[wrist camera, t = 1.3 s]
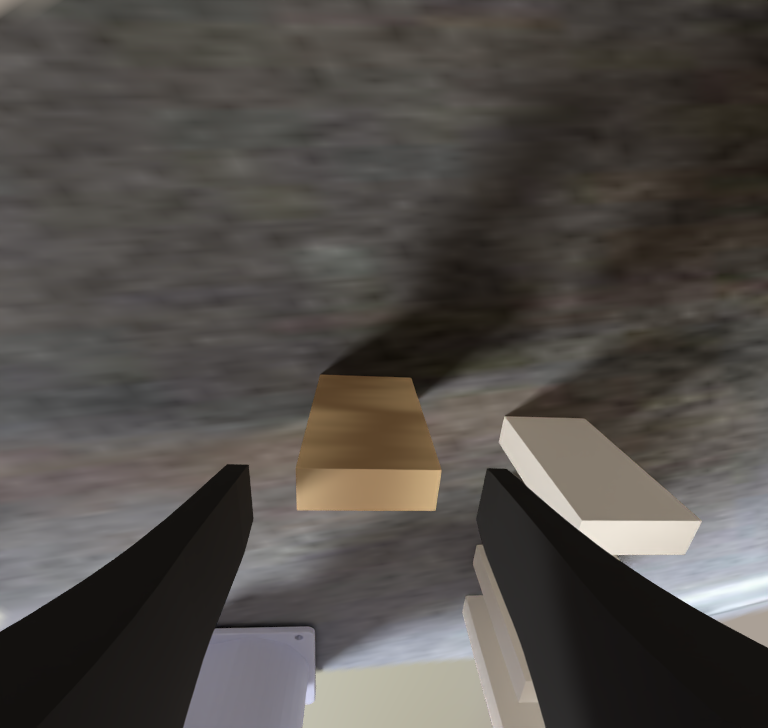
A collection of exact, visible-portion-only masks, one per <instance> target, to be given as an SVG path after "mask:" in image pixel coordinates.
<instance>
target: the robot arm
mask: <svg viewBox="0 0 768 728" xmlns="http://www.w3.org/2000/svg"><path fill="white" fill-rule="evenodd" d="M476 520H477V524H478V528H479V532H480V536H481V540H482V544H483V547H484V551H485V554H486V556H487V559H488V562H489V564H490V567H491V569H492V572H493V575H494V577H495V580H496V582H497V585H498V587H499V590H500V592H501V595H502V597H503V600H504V602H505V605H506V607H507V610H508V612H509V615H510V617H511V620H512V622H513V625H514V627H515V630H516V633H517V635H518V638H519V641H520V644H521V647H522V649H523V652H524V656H525V659H526V662H527V666H528V669H529V672H530V676H531V679H532V682H533V686H534V689H535V692H536V696H537V699H538V703H539V706H540V710H541V713H542V717H543V721H544V724H545V728H768V648H767V647H765V646H763V645H761V644H759V643H757V642H756V641H754V640H752V639H750V638H748V637H746V636H744V635H742V634H741V633H739V632H737V631H735V630H733V629H731V628H729V627H727V626H726V625H724V624H722V623H720V622H718V621H716V620H715V619H713V618H711V617H709V616H708V615H706V614H704V613H702V612H700V611H699V610H697V609H695V608H693V607H692V606H690V605H688V604H687V603H685V602H683V601H682V600H680V599H678V598H677V597H675V596H674V595H672V594H670V593H669V592H667V591H665V590H664V589H662V588H660V587H659V586H657V585H656V584H654V583H652V582H651V581H649V580H648V579H646V578H645V577H643V576H642V575H640V574H639V573H637V572H636V571H634V570H633V569H631V568H630V567H628V566H627V565H625V564H624V563H622V562H621V561H620V560H618V559H617V558H615V557H614V556H612V555H611V554H610V553H608V552H607V551H605V550H604V549H603V548H601V547H600V546H599V545H597V544H596V543H595V542H593V541H592V540H591V539H590V538H588V537H587V536H586V535H584V534H583V533H582V532H580V531H579V530H578V529H577V528H575V527H574V526H573V525H572V524H570V523H569V522H568V521H567V520H566V519H564V518H563V517H562V516H561V515H560V514H558V513H557V512H556V511H555V510H554V509H552V508H551V507H550V506H549V505H548V504H547V503H545V502H544V501H543V500H542V499H541V498H540V497H539V496H537V495H536V494H535V493H534V492H533V491H532V490H531V489H529V488H528V487H527V486H526V485H525V484H524V483H523V482H521V481H520V480H519V479H518V478H517V477H516V476H514V475H513V474H512V473H511V472H510V471H508V470H507V469H493V468H487V471H486V476H485V480H484V485H483V490H482V495H481V499H480V504H479V509H478V514H477V518H476ZM252 522H253V509H252V497H251V486H250V475H249V465H234V464H227V465H226V466H225V467H224V468H223V469H221V470H220V471H219V472H218V473H217V474H216V475H215V476H214V477H212V478H211V479H210V480H209V481H208V482H207V483H206V484H205V485H204V486H203V487H201V488H200V489H199V490H198V491H197V492H196V493H195V494H194V495H193V496H192V497H190V498H189V499H188V500H187V501H186V502H185V503H184V504H182V505H181V506H180V507H179V508H178V509H177V510H175V511H174V512H173V513H172V514H171V515H170V516H169V517H167V518H166V519H165V520H164V521H163V522H161V523H160V524H159V525H158V526H156V527H155V528H154V529H153V530H151V531H150V532H149V533H148V534H146V535H145V536H144V537H143V538H141V539H140V540H139V541H138V542H137V543H135V544H134V545H133V546H131V547H130V548H129V549H127V550H126V551H125V552H123V553H122V554H120V555H119V556H118V557H116V558H115V559H114V560H112V561H111V562H109V563H108V564H106V565H105V566H104V567H102V568H101V569H99V570H98V571H96V572H95V573H94V574H92V575H91V576H89V577H88V578H86V579H85V580H83V581H82V582H80V583H79V584H77V585H76V586H74V587H72V588H71V589H69V590H68V591H66V592H64V593H63V594H61V595H60V596H58V597H57V598H55V599H53V600H52V601H50V602H49V603H47V604H45V605H44V606H42V607H41V608H39V609H37V610H36V611H34V612H33V613H31V614H30V615H28V616H26V617H25V618H23V619H21V620H20V621H18V622H16V623H14V624H13V625H11V626H9V627H7V628H6V629H4V630H2V631H1V632H0V728H302V726H303V717H304V708H305V704H311V703H313V702H314V701H315V695H316V694H315V692H316V691H315V630H314V629H313V628H312V627H309V626H301V627H255V628H215V627H216V624H217V622H218V619H219V617H220V614H221V611H222V609H223V606H224V604H225V601H226V599H227V596H228V594H229V591H230V589H231V586H232V584H233V581H234V578H235V576H236V573H237V571H238V568H239V566H240V563H241V560H242V558H243V555H244V552H245V549H246V545H247V541H248V538H249V534H250V530H251V526H252Z"/></svg>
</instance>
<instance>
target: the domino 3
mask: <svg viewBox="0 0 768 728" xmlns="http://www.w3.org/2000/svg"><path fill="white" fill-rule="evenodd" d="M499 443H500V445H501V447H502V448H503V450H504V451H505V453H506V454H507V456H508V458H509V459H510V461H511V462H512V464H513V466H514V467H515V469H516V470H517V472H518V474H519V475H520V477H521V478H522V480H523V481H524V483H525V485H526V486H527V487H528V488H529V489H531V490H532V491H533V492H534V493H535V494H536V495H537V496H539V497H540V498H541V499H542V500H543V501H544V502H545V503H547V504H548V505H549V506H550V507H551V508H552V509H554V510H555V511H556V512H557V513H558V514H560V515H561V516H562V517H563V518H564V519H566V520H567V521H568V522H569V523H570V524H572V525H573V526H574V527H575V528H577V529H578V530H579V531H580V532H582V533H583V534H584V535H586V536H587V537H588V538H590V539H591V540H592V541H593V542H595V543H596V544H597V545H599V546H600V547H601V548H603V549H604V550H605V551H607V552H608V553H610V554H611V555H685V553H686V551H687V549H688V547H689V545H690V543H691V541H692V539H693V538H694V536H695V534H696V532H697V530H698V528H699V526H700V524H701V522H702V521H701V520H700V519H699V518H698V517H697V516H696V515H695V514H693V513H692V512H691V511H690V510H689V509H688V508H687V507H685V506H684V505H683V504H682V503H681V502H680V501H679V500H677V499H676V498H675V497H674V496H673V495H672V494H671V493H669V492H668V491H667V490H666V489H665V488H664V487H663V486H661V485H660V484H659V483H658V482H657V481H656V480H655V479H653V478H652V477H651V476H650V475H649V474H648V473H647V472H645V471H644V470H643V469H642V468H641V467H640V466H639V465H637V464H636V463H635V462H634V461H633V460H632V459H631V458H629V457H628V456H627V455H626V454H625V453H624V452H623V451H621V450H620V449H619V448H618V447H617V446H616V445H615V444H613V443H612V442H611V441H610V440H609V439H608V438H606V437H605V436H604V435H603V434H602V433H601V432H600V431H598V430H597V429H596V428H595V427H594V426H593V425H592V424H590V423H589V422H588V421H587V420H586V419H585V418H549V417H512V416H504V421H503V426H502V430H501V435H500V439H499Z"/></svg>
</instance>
